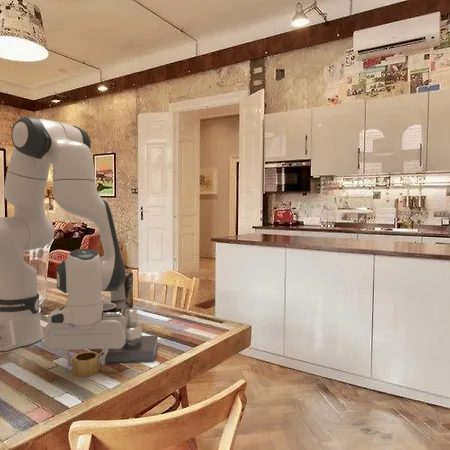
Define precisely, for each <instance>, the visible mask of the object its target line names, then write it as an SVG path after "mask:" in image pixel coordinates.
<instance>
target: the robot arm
mask: <svg viewBox="0 0 450 450" xmlns="http://www.w3.org/2000/svg"><path fill="white" fill-rule="evenodd" d="M10 134H11V135H10V136H11V142H12V144H13V147H14V148H13V150H12V152H11V155H10V158H9V162H8V166H7V170H6V176H5V181H4V187H3V192H2V193H3V194H2V195H3V197H4V199H5V200H6V201H7V202H8V203H9V204H11V205H12V206H13V210H14V214H13V215H12V216H6V217H5V216H4V217H3V216H2V217H0V352H1V351H2V352H3V351H4V352H6V351H7V352H8V351H11V350H14V349H16V348H21V347H25V346H28V345H29V346H30V345H32V344H35V343H37V342H39V341H41V340H43V348H44V349H45V350H46V351H61V355H62V356H63V357H64V358H65V360H66V366H67V367H72V358H73V357H74V356H72V355H71V354H70V351H72V350H101V354H102V353H104V352H105V353H104V354H103V356H102V355H100V356H99V358H98V365H100V366H104V365H106V363H105V356H106V355H107V353H108V351H109V349H120V348H122V347H123V346H124V345H125V342H126V334H125V327H126V317H125V316H124V315H123V314H120V312H115V313H112V312H103V303H104V302H103V301H104V299H103V295H102V292H111V291H116V290H117V289H118V288H120V287H121V286H122V284H123V283H124V282H125V280H126V272H127V271H126V267H125V263H124V261H123V260H124V259H123V257H122V253H121V249H120V245H119V241H118V240H119V239H118V236H117V232H116V227H115V221H114V217H113V214H112V211H111V208H110V206H109V203H108V201H106V200H104V199H103V198H102V197H101V196H100V193H99V192H98V188H97V184H96V169H95V165H94V164H95V163H94V158H93V155H92V152H91V151H92V150H91V145H92V144H91V139H90V136H89V134H88V132H87V131H85V130H84V129H83V128H80V127H78V126H76V125H70V124H69V123H65V122H62V121H58V120H52V119H51V120H49V119H44V118H39V117H36V116H23V117H19V118H18V119H17V120H16V122H15V123H14V124H13V126H12V129H11V133H10ZM51 165H52V188H53V196H54V201H55V202H56V204H58V206H59V207H60V208H61V209H63V210H64V211H65V212H67V213H70V214H71V215H74V216H78V217H81V218H84V219H86V220H89V221H90V222H93V223H94V225H95V226H96V227H97V229H98V231H99V236H100V240H101V246H102V249H103V255H102V256H100V254H99V252H98V251H96V250H95V249H89V248H78V249H75V250H72V251H70V252H69V253H68V255H67V259H64V260H62V261H61V262H60V263H59V264H58V265H57V266H56V268H55V270H56V288H57V290H59V291H60V292H62V293H64V294H67V298H66V305H63V306H62V307H58V308H56V309H54V310H53V311H51V312H50V313H49V314H48V315H47V316H46V322H47V325H46V326H45V328H44V331H43V327H42V323H41V318H40V313H39V312H40V306H41V303H40V302H41V301H40V294H39V292H38V273H37V269H36V268H35V267H34V266H33V265H31V264H29V263H27V262H26V261H25V258H24V256H23V252H25V251H32V250H38V249H40V248H42V247H45V246H48V245H49V244H51V243H52V241H53V240H54V238H55V237H54V236H55V227H54V225H53V223H52V221H51V220H50V219H49V218H48V217H47V215H46V214H47V213H46V211H45V202H44V201H45V195H46V189H47V183H48V178H49V174H50V166H51ZM120 315H122V316H120Z"/></svg>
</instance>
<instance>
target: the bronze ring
mask: <svg viewBox="0 0 450 450" xmlns="http://www.w3.org/2000/svg"><path fill="white" fill-rule="evenodd" d="M99 356H101V354H100V353H98V352H97V351H93V350H91V351H83V352H78V353H76V354H74V356H72V357H73V358H72V366H71V367H72V368H71V370H72V371H71V374H72V375H73V376H75V377H76V378H88V377H91V376H93V375H96V374H98V373H99V372H100V370H101V365H98V358H99Z"/></svg>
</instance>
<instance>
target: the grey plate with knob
mask: <svg viewBox="0 0 450 450" xmlns="http://www.w3.org/2000/svg"><path fill="white" fill-rule="evenodd" d="M125 317H126V327H125V334H126V342H125V345H124V346H123V347H122V348H120V349H109V351H108V353H107V355H106V356H105V364H106V363H107V364H109V363H111V364H113V363H114V364H115V363H144V362H146V363H149V362H150V363H151V362H152V363H153V362H154V361H155V357H156V353H157V350H158V345H159V344H158V343H159V341H158V337H159V335H143V328H142V327H143V326H142V324H140V323H138V310H137V308H135V307H133V308H128V309H126V310H125ZM104 353H105V352H104ZM104 353H102V352H101V356H103V354H104Z"/></svg>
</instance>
